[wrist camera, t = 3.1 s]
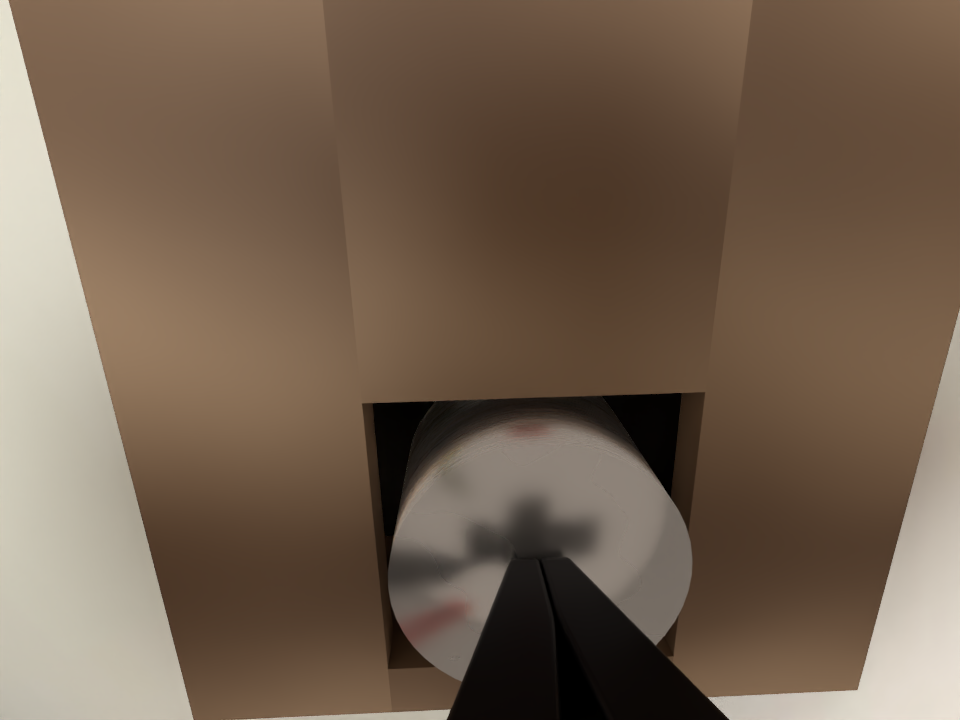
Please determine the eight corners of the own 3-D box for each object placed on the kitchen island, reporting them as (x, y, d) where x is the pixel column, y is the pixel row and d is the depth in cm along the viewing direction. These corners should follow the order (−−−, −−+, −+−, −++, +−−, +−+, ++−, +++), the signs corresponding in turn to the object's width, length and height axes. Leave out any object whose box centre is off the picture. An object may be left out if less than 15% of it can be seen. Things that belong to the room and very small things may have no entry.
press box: (747, 548, 14) (857, 690, 10) (269, 567, 13) (194, 721, 10) (915, -474, 8) (1325, -1064, 4) (84, -484, 8) (-282, -1130, 4)
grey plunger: (620, 555, 12) (677, 688, 9) (414, 563, 12) (398, 702, 8) (634, 361, 10) (708, 439, 7) (401, 368, 10) (375, 450, 7)
